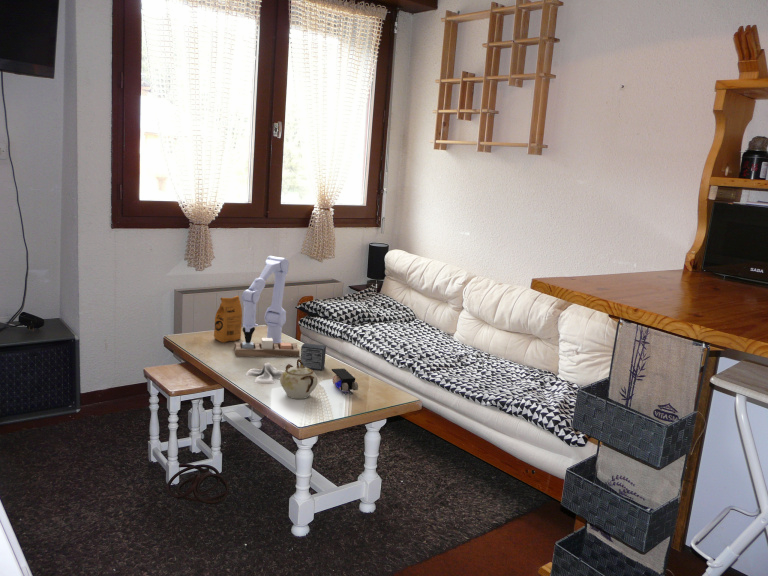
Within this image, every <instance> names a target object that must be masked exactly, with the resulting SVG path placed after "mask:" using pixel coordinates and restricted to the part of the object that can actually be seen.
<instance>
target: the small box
mask: <svg viewBox="0 0 768 576" xmlns="http://www.w3.org/2000/svg"><path fill="white" fill-rule="evenodd" d="M326 348H327V345H323V344H314V343H306V342H304V343H303V344H302V345H301V347H300V349H301V350H300V360H301V362H302V363H303V366H304V367H307V368H309V369H311V370H313V371H321V372H322V371H323V370H324V368H325V365H326V353H327V352H326V350H327V349H326ZM299 366H301V364H300V363H299Z"/></svg>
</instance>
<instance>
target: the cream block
mask: <svg viewBox="0 0 768 576" xmlns="http://www.w3.org/2000/svg"><path fill="white" fill-rule="evenodd" d="M260 343H261V347H262V349H273V339H272V338H267V337H261V341H260Z"/></svg>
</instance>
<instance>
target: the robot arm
mask: <svg viewBox="0 0 768 576" xmlns="http://www.w3.org/2000/svg"><path fill="white" fill-rule="evenodd" d="M264 263H265V264H264V265H265V266H264V268H263V270H262V271H261V273H260V275H259V277H256V278H255V279H253V282H252V283H251V285H250V286H248V287H249V288H248V289H245V290H243V292H242V295H241V301H242V304H243V313H242V317H243V318H242V332H243V335H244V342H246V343H250V342H252V338H253V334H254V332H255V330H256V327H258V323H256V317H257V315H256V314H257V303H258V302H259V301H260V298H261V297H260V296H261V293H262V291H263V289H264V288H265V287H266V281H267V280H268V279H269V278H270V276H271V275H272V274H274V281H273V282H274V283H273V290H272V298H271V305H270V306H269V307H266V311H265V314H264V316H263V318H264V322H265V323H266V325H267V327H266V328H267V331H266V338H272V339H273V343H283V341H282V330H283V329H282V328H283V326H284V325H285V324H286V322H287V310H286V309H284V308H283V299H284V292H285V285H286V277H287V275H288V273H289V272H288V271H289V265H290V262H289V260H288V258H287V257H281V256H273V255H269V256H267V258H266V259H265V262H264Z"/></svg>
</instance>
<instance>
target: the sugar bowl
mask: <svg viewBox="0 0 768 576" xmlns="http://www.w3.org/2000/svg"><path fill="white" fill-rule="evenodd" d="M300 364H301V366H300ZM283 371H284V372H283V373H282V375H281V377H280V380H279V382H280V386H281V387H282V389H283V391H284V392H285V393H286V395H287V396H288V397H289V398H291V399H297V400H299V399H306V398H308V397H309V396H310V395H311V393H312V392H313V391H314V390H315V389H316V388H317V385H318V382H319V381H318V380H319V379H318V376H317V375H316V373H315V372H314V370H311V369H309V368H307V367H304V366H303V363H302V362H301V358H297V360H296V365H295V366H293V365H292V364H290V363H288V364H287V365H286V367H285V370H283Z"/></svg>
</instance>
